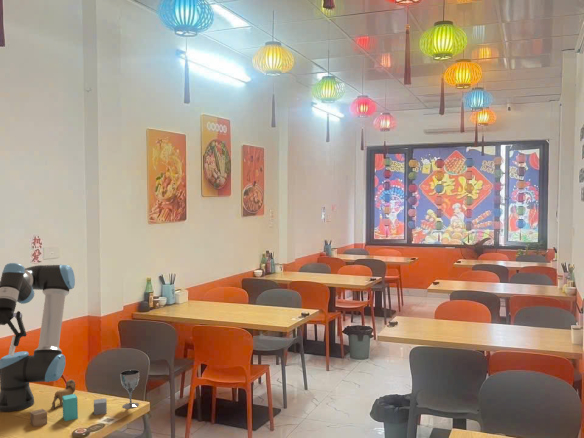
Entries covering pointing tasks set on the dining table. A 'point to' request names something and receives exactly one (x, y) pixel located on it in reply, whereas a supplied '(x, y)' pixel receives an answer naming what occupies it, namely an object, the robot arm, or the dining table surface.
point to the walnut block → (38, 417)
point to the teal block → (70, 407)
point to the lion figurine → (64, 392)
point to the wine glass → (130, 385)
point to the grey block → (100, 406)
